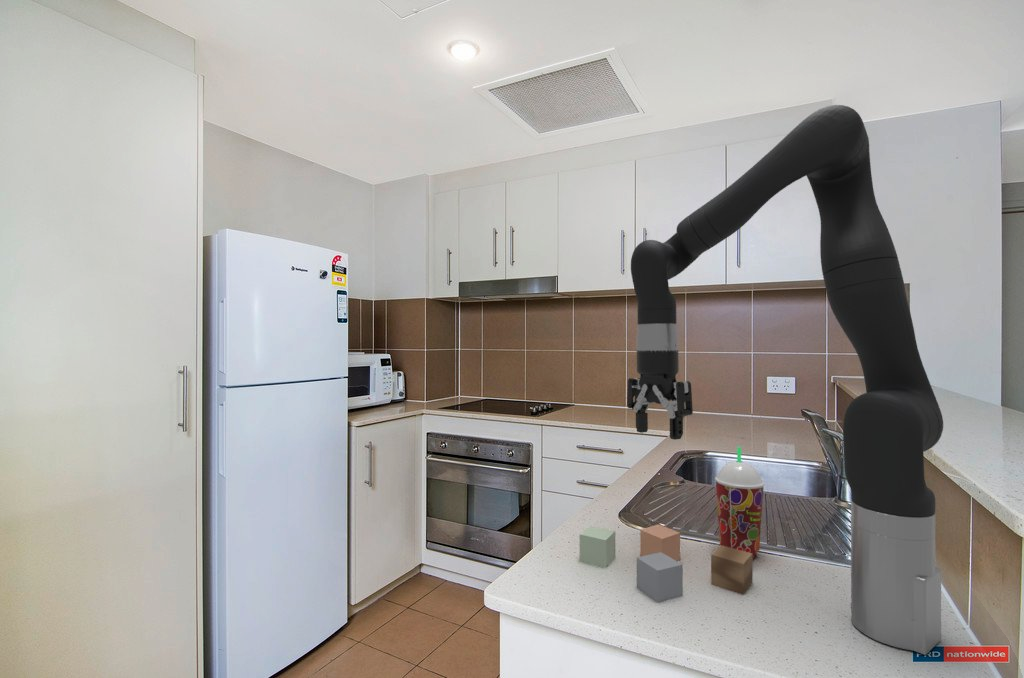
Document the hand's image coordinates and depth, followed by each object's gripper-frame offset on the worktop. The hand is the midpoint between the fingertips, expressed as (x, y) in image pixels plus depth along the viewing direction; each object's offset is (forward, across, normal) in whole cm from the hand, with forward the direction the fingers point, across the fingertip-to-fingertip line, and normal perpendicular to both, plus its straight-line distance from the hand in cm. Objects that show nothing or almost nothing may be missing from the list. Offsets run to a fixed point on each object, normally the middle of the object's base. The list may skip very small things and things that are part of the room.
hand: (658, 435), depth 92 cm
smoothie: (+23, -6, -14) cm, 27 cm away
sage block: (+22, +4, +11) cm, 25 cm away
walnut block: (+23, -13, -3) cm, 27 cm away
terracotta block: (+22, -1, 0) cm, 23 cm away
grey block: (+23, -10, +10) cm, 26 cm away
